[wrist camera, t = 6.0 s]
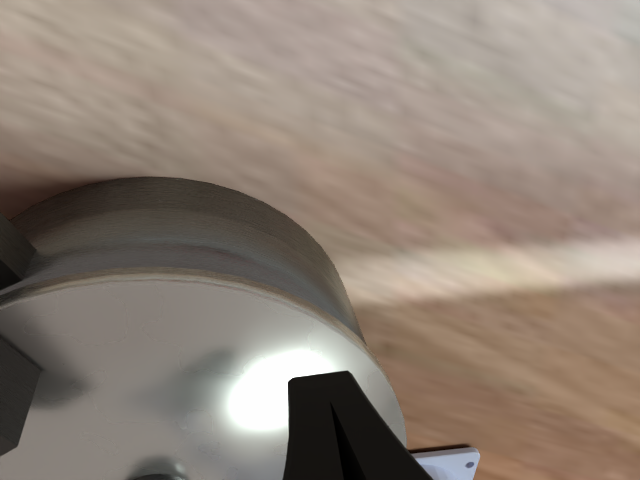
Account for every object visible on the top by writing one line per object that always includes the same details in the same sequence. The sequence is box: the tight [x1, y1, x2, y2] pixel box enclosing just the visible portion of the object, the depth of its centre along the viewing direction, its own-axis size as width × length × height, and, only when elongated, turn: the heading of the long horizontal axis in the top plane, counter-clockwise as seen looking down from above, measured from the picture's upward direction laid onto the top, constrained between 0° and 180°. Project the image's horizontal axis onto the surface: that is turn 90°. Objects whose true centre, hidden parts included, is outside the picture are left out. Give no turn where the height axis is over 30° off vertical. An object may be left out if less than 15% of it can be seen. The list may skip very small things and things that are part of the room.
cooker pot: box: [0, 177, 367, 346], centre depth 20 cm, size 21×16×6 cm
